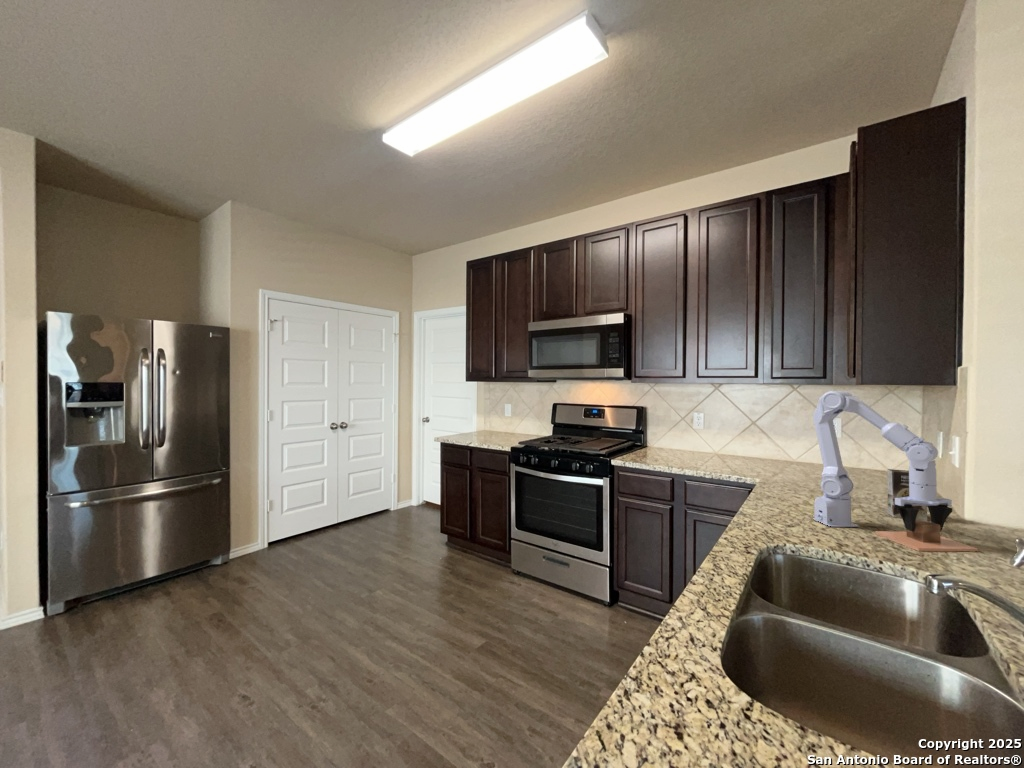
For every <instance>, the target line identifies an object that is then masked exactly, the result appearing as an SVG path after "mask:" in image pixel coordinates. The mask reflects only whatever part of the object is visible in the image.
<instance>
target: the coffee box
mask: <svg viewBox="0 0 1024 768" xmlns="http://www.w3.org/2000/svg"><path fill="white" fill-rule="evenodd" d="M901 497H909V470H906V469H905V470H903V469H894V468H893V469H891V468H887V501H886V503H887V506H886V508H887V514H888V515H890V517H892V518H894V519H895V518H896V519H897V518H898V519H902V517H901V515H900V513H899V512H898V510H897V509H896V507H895V498H901ZM912 507H914V508H915V509H918V510H919V511H918V513H917V516H916V520H926V521H928V507H927V506H912Z"/></svg>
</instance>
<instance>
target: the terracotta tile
mask: <svg viewBox="0 0 1024 768" xmlns="http://www.w3.org/2000/svg"><path fill="white" fill-rule="evenodd" d="M874 533H875V535H877V536H880V537H881V538H885V539H886V540H890V541H893V542H895V543H897V544H899V545H903V546H905V547H907V548H910V549H913V550H915V551H917V552H956V551H970V552H969V553H971V552H973V553H976V552H975V551H977V553H978V552H979V548H977V547H974V546H971V545H968V544H965V543H963V542H959V541H957V540H953V539H950V538H948V537H945V536H942V535H941V543H929V542H920V541H918V540H915V539H912V538H910V537H907V531H900V530H899V531H889V530H888V531H887V530H886V531H885V530H883V531H880V530H875V531H874Z"/></svg>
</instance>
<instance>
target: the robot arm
mask: <svg viewBox="0 0 1024 768" xmlns="http://www.w3.org/2000/svg"><path fill="white" fill-rule="evenodd" d="M817 401H818V402H817V405H816V408H815V410H814V413H813V415H812V416H813V422H814V427H815V432H816V437H817V442H818V446H819V451H820V456H821V461H822V465H823V469H822V472H821V483H820V490H821V491H822V493H823V495H822V496H817V497H815V500H814V517H813V518H812V520H813V519H814V520H813V521H816V522H818V521H819V522H818V523H820V522H821V524H822V523H823V525H825V526H827V525H828V526H827V527H830V526H831V527H833V528H834V527H835V528H839V527H841V528H842V527H843V528H844V527H845V528H847V527H849V528H851V527H852V528H853V527H854V528H859V526H860V525H858V524H856V523H853V522H852V496H851V494H850V493H851V492H852V491H853V489H854V482H853V481H852V479H851V478H850V477H849V474H848V471H847V470H846V469H845V467H844V466H843V461H842V455H841V451H840V448H839V447H840V446H839V442H838V437H837V434H836V429H835V424H834V420H835V419H836V418H837V417H838V415H840V414H841V413H842V412H848V413H854V414H857V415H858V416H860V417H861V418H863V419H864V420H865V421H867V422H869V423H870V424H872V425H873V426H874V427H876V428H877V429H878V430H880V431H881V436H882V438H884V439H885V440H887V441H888V442H889V443H891V444H892V445H893V446H895V447H896V448H897V449H899V450H900V451H902V452H904V453H905V456H906V458H907V459H908V461H909V462H908V463H909V464H908V465H909V466H908V471H909V497H901V498H895V507H896V509H897V510H898V512H899V513H900V515H901V517H902V518H901V519H902V522H903V525H904V528H905V530H906V531H907V530H909V531H915V522H916V516H917V513H918V511H919V510H918V509H915V508H914V507H912V506H927V510H928V512H929V515H930V522H933V523H936V524H939V525H940V533H941V532H942V530H943V529H944V528H943V527H944V525H945V523H946V520H947V519H948V517H950V515H951V514H952V513H953V507H952V499H951V498H945V497H938V495H937V487H938V486H937V469H936V468H937V467H936V465H937V463H936V458H937V457H938V455H939V454H938V453H939V451H938V449H937V447H936V446H935V445H934V444H933V443H932V442H929V441H925V438H924V437H922V436H920V437H919V436H918V435H917V434H915V433H914V432H913V431H911V430H910V429H908V428H909V426H908V425H906V424H901V423H899V422H891V421H889V420H887V419H886V418H885V417H883V416H882V415H881V414H880V413H878V412H877V411H876V410H875V409H873V408H872V407H871V406H869V405H868V404H867V403H865V402H863V400H861V399H860V398H858V397H856V396H855V395H853V394H852V393H850V392H849V391H845V390H839V391H838V390H837V391H835V390H831V391H826V392H825V393H824V394H823V395H822V396H820V397H819V398H818V400H817Z"/></svg>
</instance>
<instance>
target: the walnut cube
mask: <svg viewBox="0 0 1024 768" xmlns="http://www.w3.org/2000/svg"><path fill="white" fill-rule="evenodd" d="M906 532H907V537H910V538H912V539H915V540H918V541H920V542H929V543H941V536H942V535H941V532H940V525H939V524H936V523H933V522H931V521H929V520H927V521H926V520H916V522H915V531H909V530H906Z"/></svg>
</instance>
